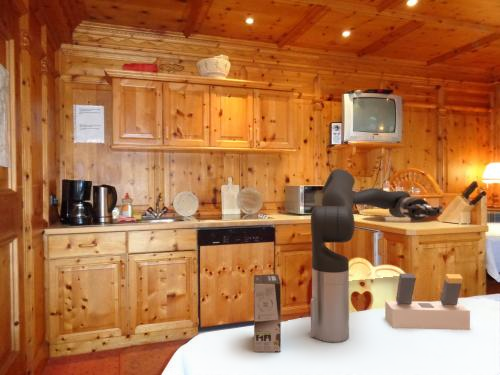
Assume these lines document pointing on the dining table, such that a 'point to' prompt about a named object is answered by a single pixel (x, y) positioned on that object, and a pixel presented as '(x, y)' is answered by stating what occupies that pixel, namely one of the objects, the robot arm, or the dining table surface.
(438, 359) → the dining table surface
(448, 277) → the lever right
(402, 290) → the lever left
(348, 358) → the dining table surface
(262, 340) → the coffee box
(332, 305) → the robot arm
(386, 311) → the beige lever base
